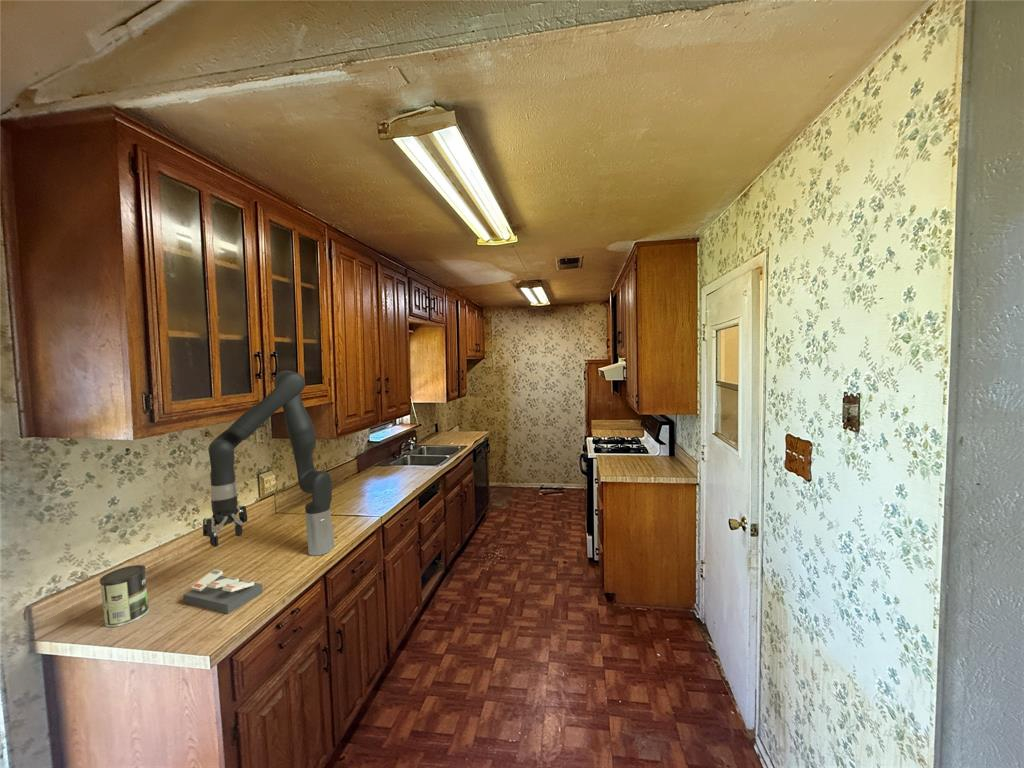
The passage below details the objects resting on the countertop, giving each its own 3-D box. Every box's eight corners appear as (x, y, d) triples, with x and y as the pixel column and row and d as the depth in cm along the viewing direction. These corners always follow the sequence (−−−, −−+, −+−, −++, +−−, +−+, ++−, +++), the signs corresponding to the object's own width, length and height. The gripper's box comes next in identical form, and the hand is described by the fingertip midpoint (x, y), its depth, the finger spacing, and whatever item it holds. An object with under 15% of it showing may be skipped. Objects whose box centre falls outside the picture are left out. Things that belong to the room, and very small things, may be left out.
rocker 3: (244, 583, 138) (245, 579, 139) (254, 585, 137) (255, 581, 137) (221, 590, 131) (222, 586, 131) (231, 592, 129) (232, 588, 130)
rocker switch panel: (220, 583, 145) (219, 575, 145) (262, 592, 139) (262, 584, 139) (183, 603, 134) (183, 594, 134) (228, 614, 128) (227, 604, 127)
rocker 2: (229, 580, 141) (230, 576, 141) (239, 582, 139) (239, 578, 139) (205, 587, 133) (206, 582, 133) (215, 589, 132) (216, 585, 132)
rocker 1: (214, 571, 143) (213, 569, 142) (224, 573, 141) (222, 570, 141) (191, 589, 136) (190, 586, 135) (201, 592, 134) (199, 588, 134)
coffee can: (146, 602, 135) (142, 561, 134) (151, 615, 128) (147, 571, 127) (102, 618, 127) (98, 574, 126) (105, 632, 120) (100, 586, 119)
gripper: (235, 488, 151) (238, 531, 152) (195, 501, 138) (198, 548, 139) (250, 490, 149) (253, 533, 150) (211, 503, 136) (214, 551, 137)
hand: (227, 540), depth 144 cm, fingers open, 8 cm apart
